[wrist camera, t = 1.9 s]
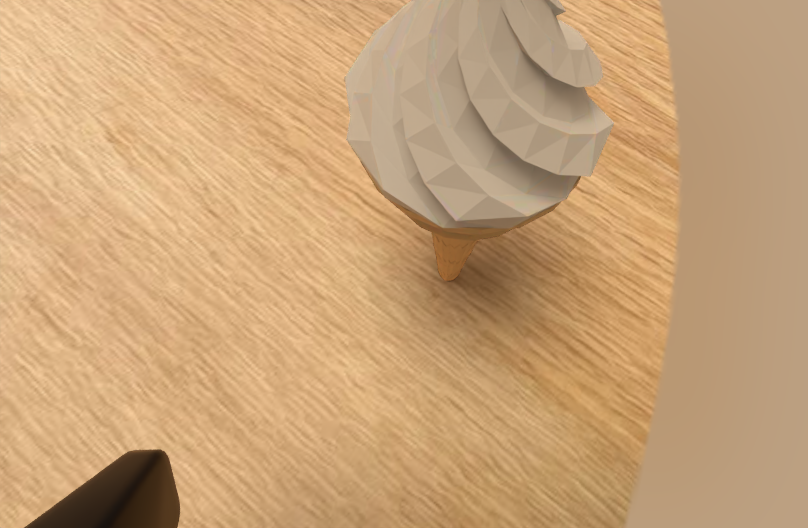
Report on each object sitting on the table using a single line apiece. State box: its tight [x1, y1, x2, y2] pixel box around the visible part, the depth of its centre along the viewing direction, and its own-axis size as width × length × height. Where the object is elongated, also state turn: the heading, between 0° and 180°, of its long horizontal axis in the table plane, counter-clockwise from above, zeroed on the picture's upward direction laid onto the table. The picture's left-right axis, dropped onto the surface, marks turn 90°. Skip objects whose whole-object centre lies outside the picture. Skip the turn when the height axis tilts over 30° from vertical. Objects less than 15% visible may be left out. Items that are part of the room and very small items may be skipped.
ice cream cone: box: [345, 0, 614, 281], centre depth 15 cm, size 6×6×15 cm
